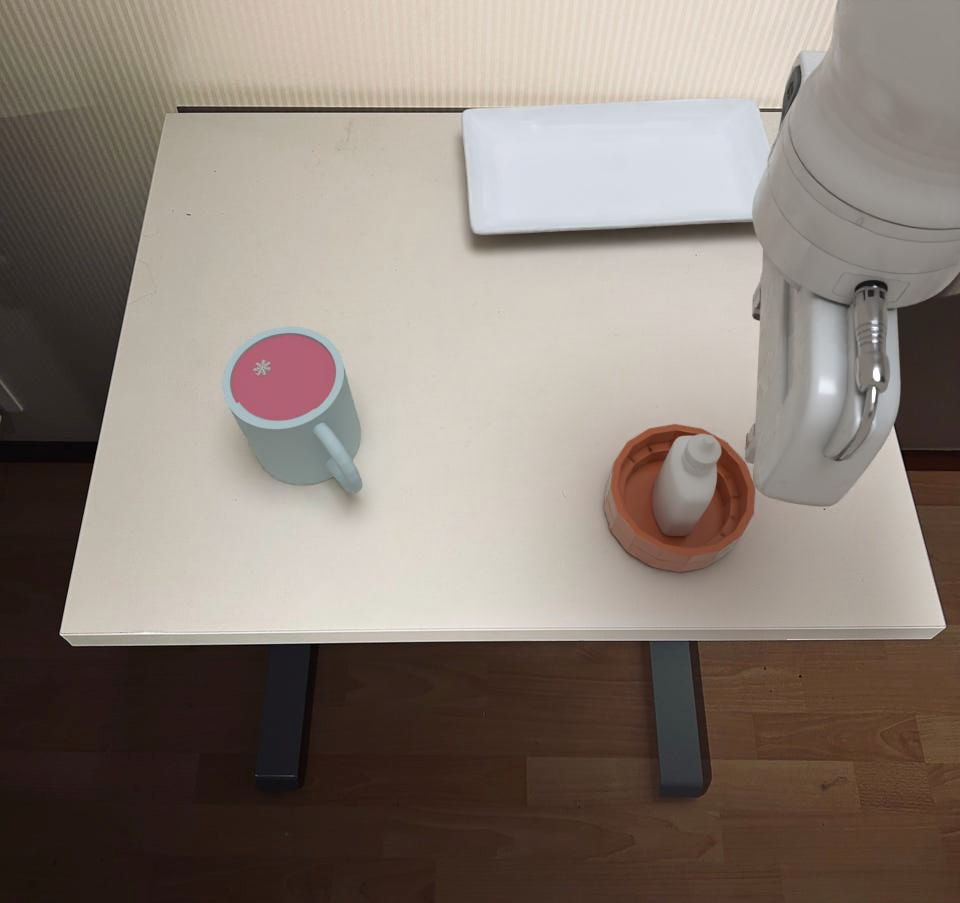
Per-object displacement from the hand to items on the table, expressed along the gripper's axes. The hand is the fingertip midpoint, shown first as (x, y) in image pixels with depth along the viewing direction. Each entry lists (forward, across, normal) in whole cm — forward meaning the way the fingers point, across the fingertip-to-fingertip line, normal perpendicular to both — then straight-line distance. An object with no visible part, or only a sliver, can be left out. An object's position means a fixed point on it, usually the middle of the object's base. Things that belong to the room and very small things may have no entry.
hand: (762, 379), depth 45 cm
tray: (+24, +38, +9) cm, 46 cm away
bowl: (+24, +2, 0) cm, 24 cm away
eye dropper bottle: (+23, +2, 0) cm, 23 cm away
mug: (+24, +1, +30) cm, 39 cm away
